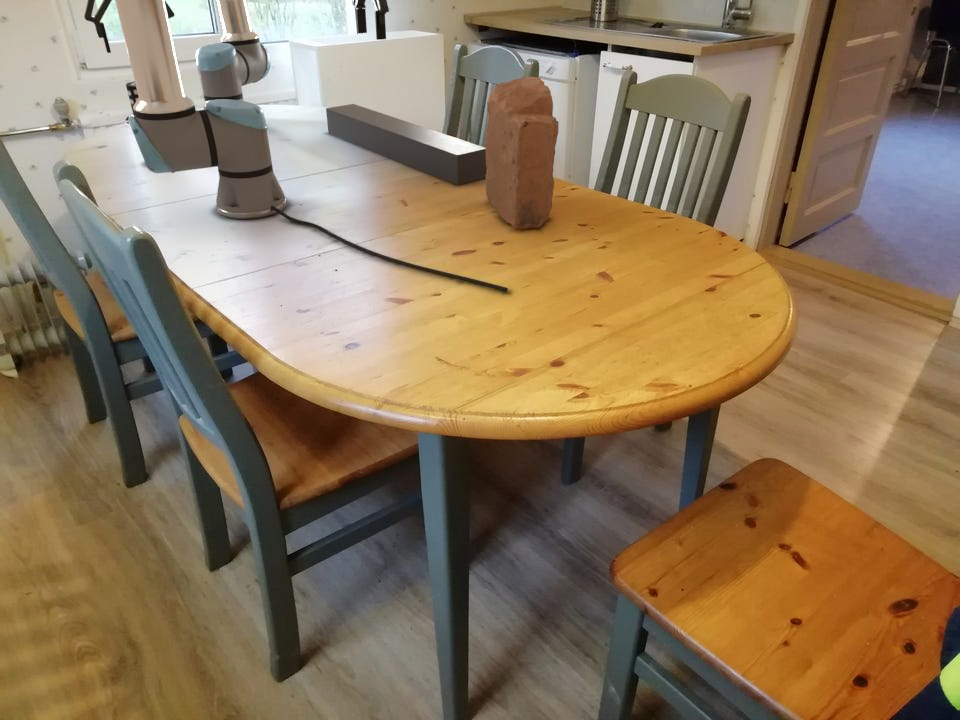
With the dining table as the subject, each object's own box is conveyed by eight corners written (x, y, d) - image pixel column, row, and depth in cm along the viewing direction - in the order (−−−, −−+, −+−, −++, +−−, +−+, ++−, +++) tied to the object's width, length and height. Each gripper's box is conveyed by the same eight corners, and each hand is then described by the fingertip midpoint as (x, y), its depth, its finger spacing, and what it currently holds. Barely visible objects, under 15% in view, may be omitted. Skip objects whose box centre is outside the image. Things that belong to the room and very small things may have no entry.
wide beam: (486, 177, 179) (487, 148, 174) (457, 185, 173) (457, 155, 169) (355, 128, 219) (353, 103, 214) (328, 133, 213) (325, 108, 209)
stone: (564, 226, 149) (572, 89, 135) (516, 232, 146) (519, 92, 132) (527, 198, 167) (531, 73, 153) (483, 203, 164) (483, 76, 149)
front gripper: (168, -49, 170) (187, 44, 182) (55, -48, 160) (82, 51, 171) (173, -48, 165) (192, 48, 176) (56, -47, 154) (84, 55, 166)
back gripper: (398, -46, 184) (401, 41, 196) (361, -50, 202) (366, 29, 214) (372, -46, 181) (377, 42, 193) (336, -50, 199) (343, 31, 210)
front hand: (138, 50), depth 174 cm, fingers open, 13 cm apart
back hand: (371, 36), depth 203 cm, fingers open, 13 cm apart
